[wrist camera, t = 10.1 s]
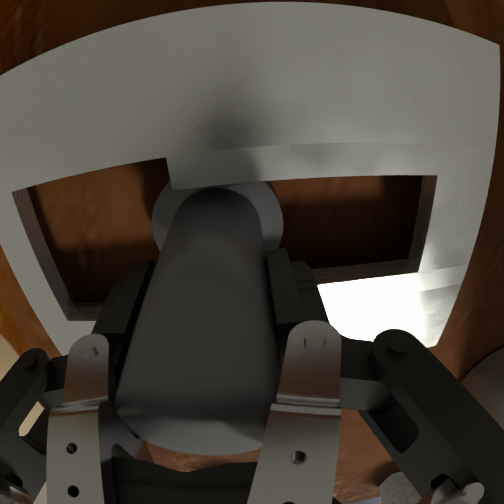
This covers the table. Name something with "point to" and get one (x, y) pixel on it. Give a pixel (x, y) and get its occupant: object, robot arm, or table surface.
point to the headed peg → (206, 324)
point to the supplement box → (398, 490)
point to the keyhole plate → (265, 136)
